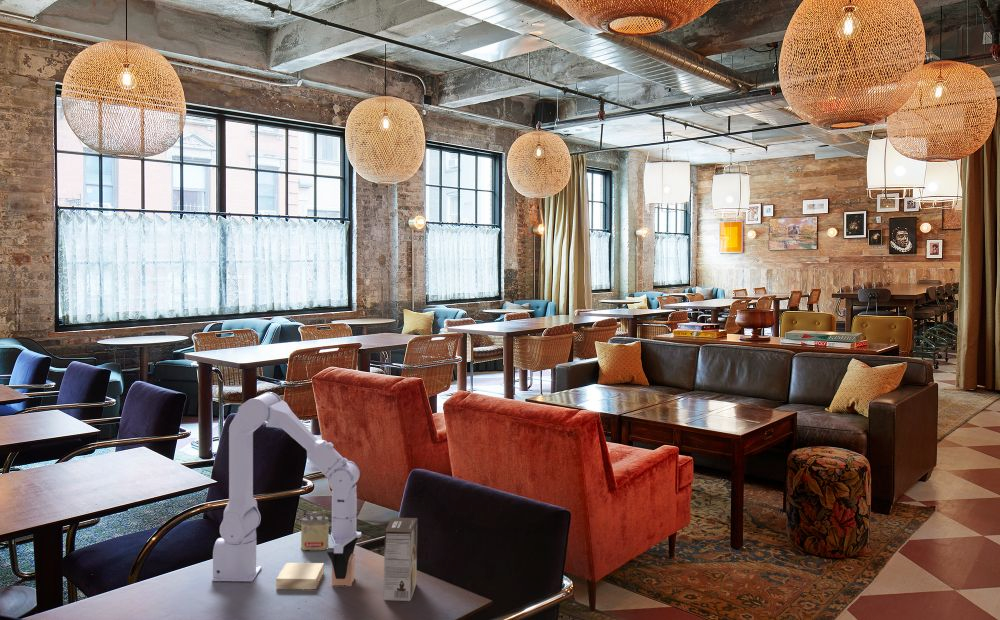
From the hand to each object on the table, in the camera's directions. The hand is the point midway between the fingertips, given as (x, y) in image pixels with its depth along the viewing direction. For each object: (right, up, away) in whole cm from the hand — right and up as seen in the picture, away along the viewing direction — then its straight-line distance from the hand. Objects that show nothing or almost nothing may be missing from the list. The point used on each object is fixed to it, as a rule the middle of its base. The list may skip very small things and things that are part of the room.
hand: (343, 571), depth 174 cm
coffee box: (+14, -3, -4) cm, 15 cm away
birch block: (-10, -3, 0) cm, 11 cm away
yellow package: (-12, -1, +20) cm, 23 cm away
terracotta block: (0, -3, 0) cm, 3 cm away
